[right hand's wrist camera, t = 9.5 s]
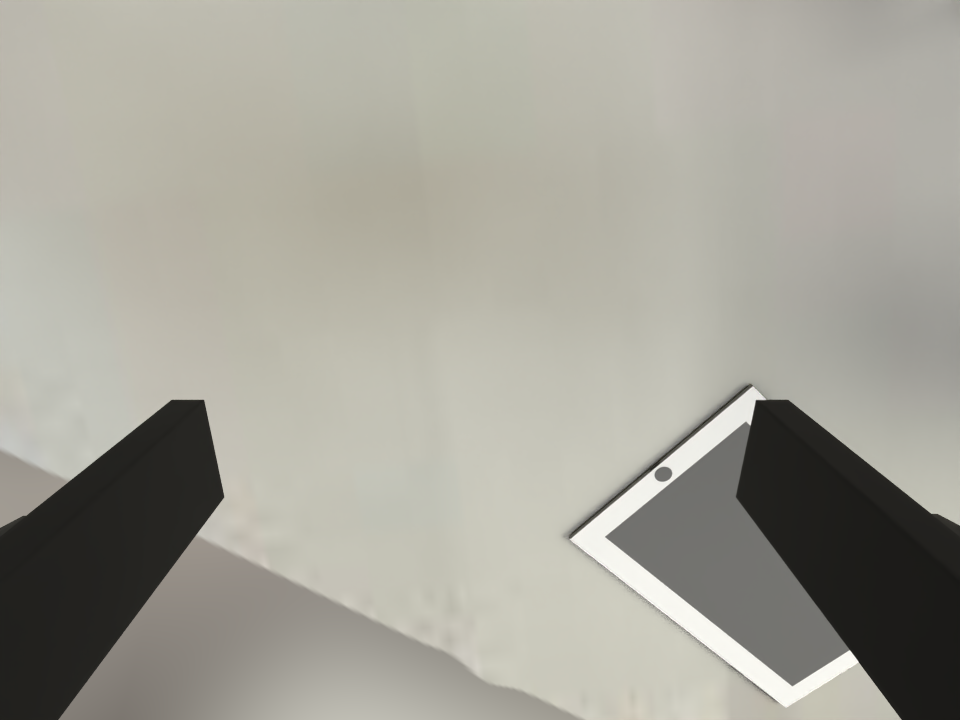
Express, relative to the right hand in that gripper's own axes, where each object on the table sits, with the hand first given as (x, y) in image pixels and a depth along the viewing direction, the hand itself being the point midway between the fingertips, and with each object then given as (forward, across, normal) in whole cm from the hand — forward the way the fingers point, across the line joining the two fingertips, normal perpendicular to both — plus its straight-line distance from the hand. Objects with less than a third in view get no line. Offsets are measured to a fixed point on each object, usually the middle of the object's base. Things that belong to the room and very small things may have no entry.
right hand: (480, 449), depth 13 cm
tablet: (+27, +26, -28) cm, 48 cm away
